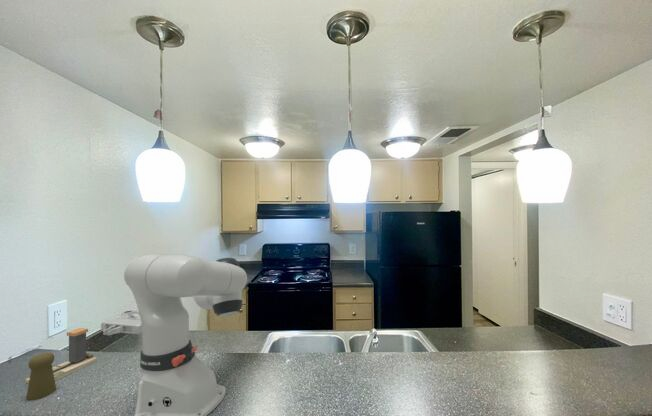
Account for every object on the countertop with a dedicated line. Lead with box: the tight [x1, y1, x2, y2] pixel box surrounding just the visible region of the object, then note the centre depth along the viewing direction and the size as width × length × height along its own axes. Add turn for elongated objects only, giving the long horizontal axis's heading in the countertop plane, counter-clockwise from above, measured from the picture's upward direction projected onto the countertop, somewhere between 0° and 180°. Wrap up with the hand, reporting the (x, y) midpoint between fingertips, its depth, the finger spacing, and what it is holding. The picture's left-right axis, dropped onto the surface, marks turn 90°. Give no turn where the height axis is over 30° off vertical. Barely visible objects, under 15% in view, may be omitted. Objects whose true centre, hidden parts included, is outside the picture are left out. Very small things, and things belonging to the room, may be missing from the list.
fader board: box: [25, 352, 98, 385], centre depth 90 cm, size 8×15×2 cm, turn 164°
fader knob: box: [66, 327, 89, 363], centre depth 95 cm, size 4×4×10 cm
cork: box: [25, 352, 57, 402], centre depth 79 cm, size 6×6×11 cm
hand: (106, 333), depth 104 cm, fingers closed
